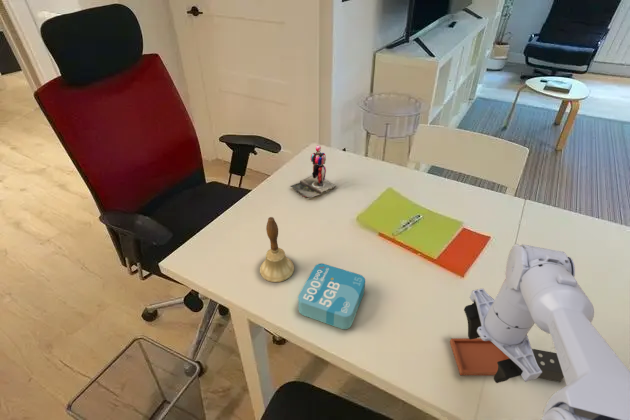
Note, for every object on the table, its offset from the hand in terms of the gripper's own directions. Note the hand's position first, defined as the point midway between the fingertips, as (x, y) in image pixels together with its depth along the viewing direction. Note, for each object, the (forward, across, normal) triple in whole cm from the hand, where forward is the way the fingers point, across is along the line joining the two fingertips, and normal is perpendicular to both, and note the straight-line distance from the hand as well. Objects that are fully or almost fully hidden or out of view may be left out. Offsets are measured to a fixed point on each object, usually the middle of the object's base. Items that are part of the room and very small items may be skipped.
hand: (486, 357), depth 62 cm
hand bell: (+10, -36, -31) cm, 48 cm away
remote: (+10, 0, +14) cm, 17 cm away
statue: (+12, -66, -14) cm, 69 cm away
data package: (+8, -20, -15) cm, 26 cm away
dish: (+10, -4, +4) cm, 11 cm away
